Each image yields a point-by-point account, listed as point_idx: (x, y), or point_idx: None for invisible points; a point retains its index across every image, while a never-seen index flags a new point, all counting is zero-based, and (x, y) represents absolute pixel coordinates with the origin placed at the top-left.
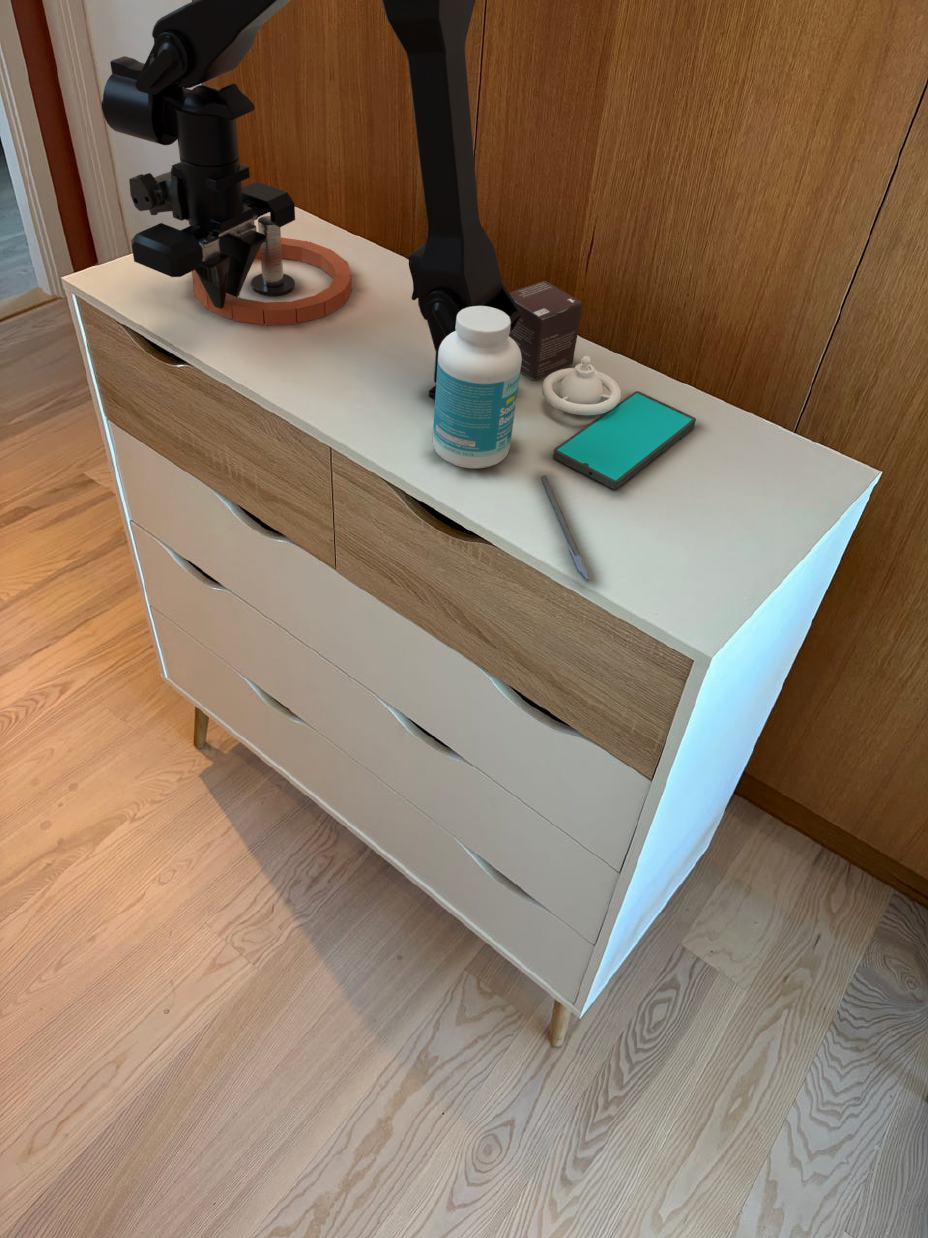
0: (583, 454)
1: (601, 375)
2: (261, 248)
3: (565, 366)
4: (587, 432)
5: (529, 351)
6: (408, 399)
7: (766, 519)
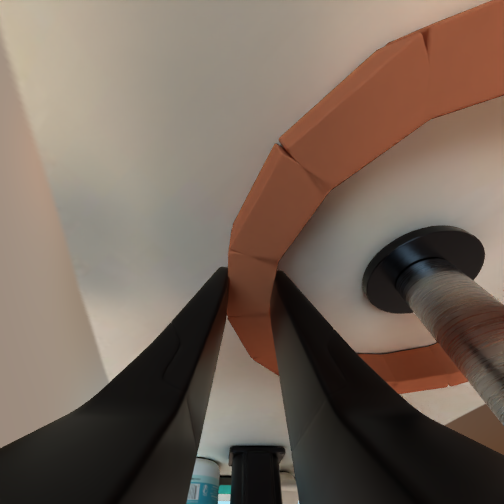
0: (225, 488)
1: None
2: (489, 367)
3: None
4: None
5: None
6: (217, 440)
7: None
